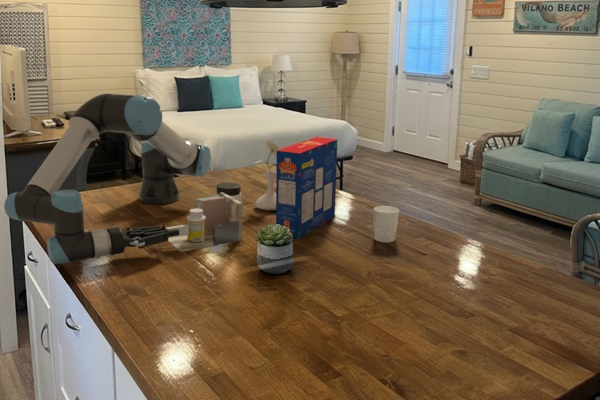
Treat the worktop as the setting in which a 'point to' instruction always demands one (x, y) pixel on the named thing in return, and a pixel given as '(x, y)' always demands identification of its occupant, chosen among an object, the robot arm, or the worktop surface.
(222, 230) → the bookend
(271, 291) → the worktop surface
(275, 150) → the flower in vase
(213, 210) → the books
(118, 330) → the worktop surface
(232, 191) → the jar
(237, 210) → the shelf
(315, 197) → the pasta box
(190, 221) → the supplement bottle
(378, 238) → the white cup
